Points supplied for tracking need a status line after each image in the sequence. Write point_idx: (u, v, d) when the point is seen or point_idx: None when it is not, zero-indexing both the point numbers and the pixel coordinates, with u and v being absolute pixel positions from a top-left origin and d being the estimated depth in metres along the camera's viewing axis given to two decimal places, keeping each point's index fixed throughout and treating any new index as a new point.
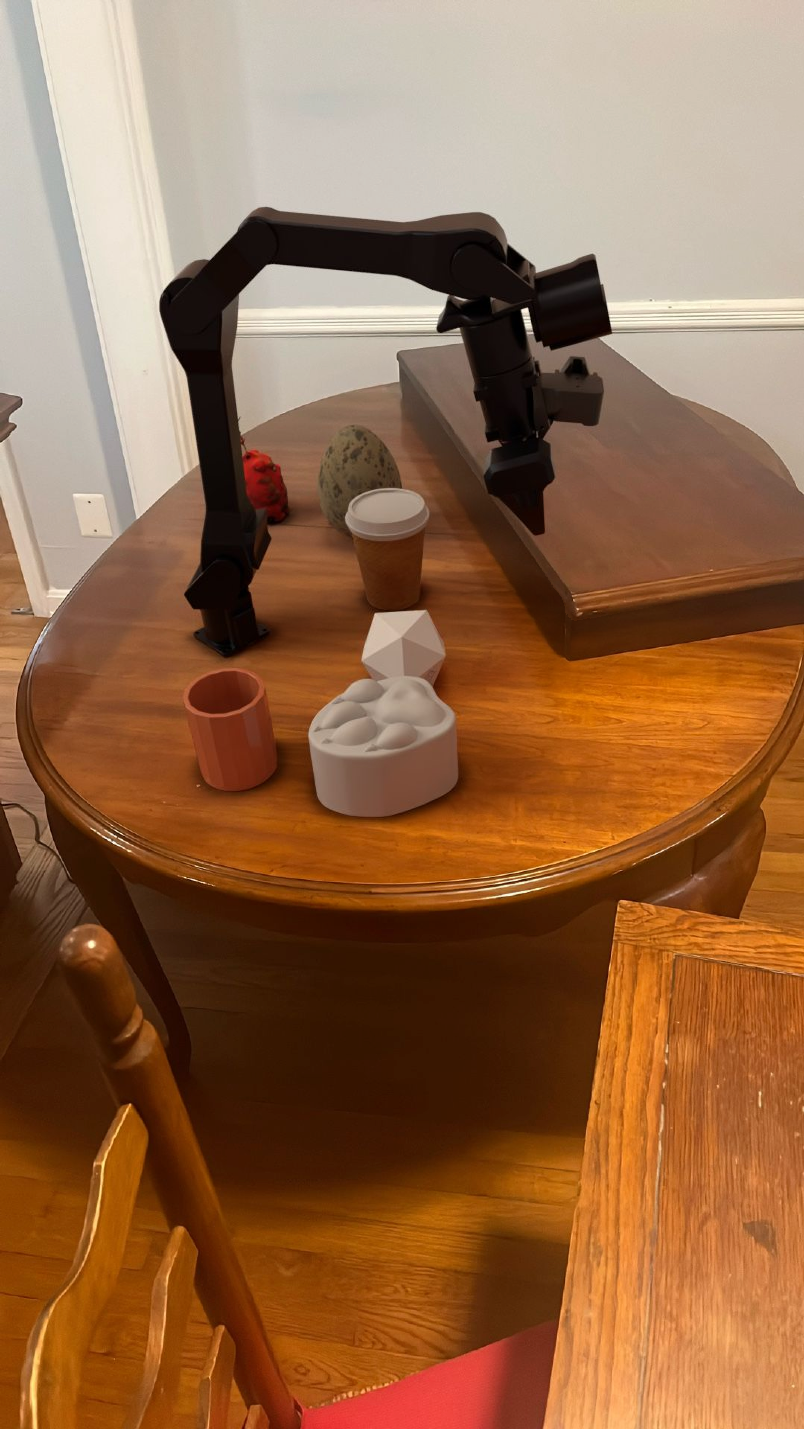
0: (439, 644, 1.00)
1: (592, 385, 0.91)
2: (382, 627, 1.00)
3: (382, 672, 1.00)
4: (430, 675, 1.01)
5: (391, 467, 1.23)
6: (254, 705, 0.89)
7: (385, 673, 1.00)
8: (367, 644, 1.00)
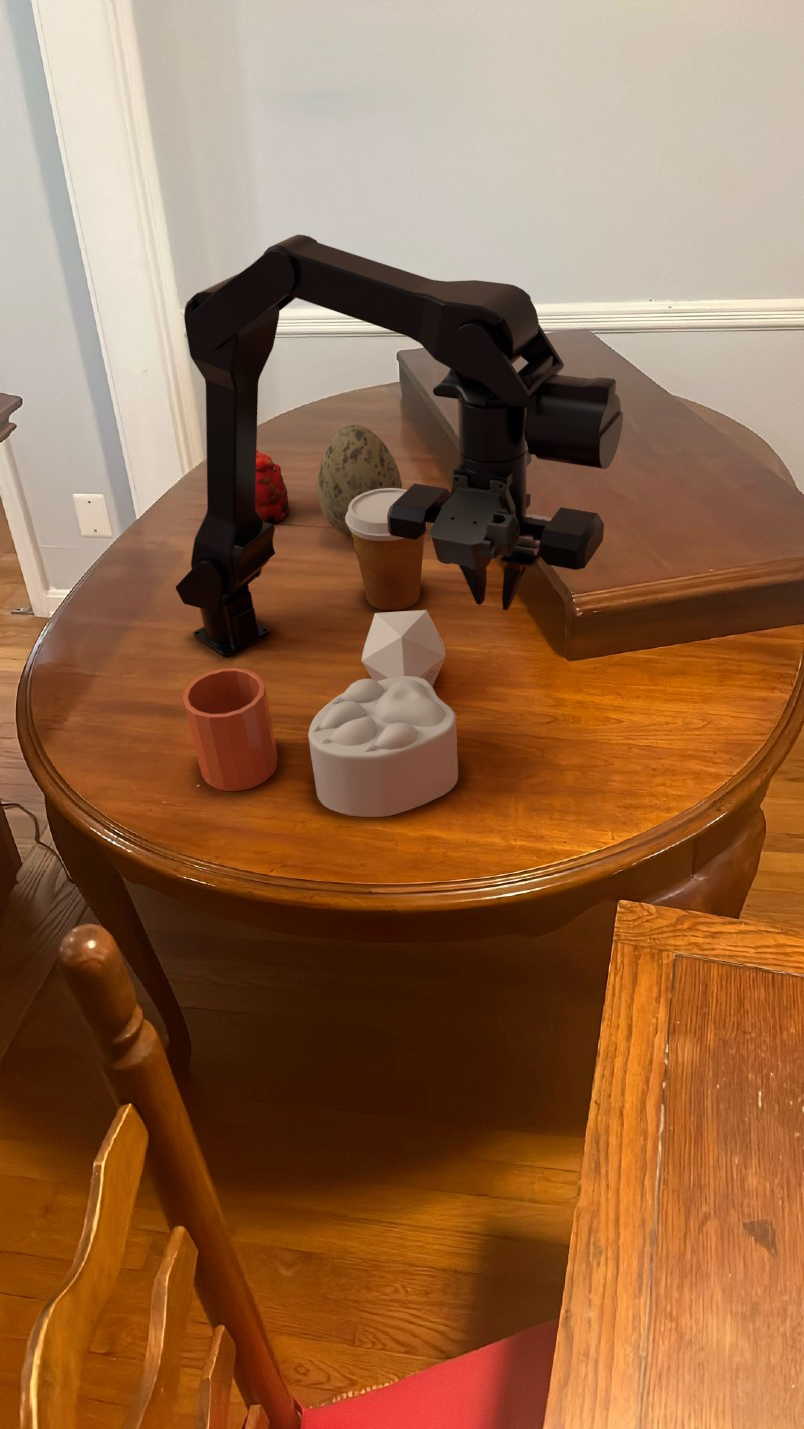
0: (439, 644, 1.00)
1: (453, 531, 0.82)
2: (382, 627, 1.00)
3: (382, 672, 1.00)
4: (430, 675, 1.01)
5: (391, 467, 1.23)
6: (254, 705, 0.89)
7: (385, 673, 1.00)
8: (367, 644, 1.00)
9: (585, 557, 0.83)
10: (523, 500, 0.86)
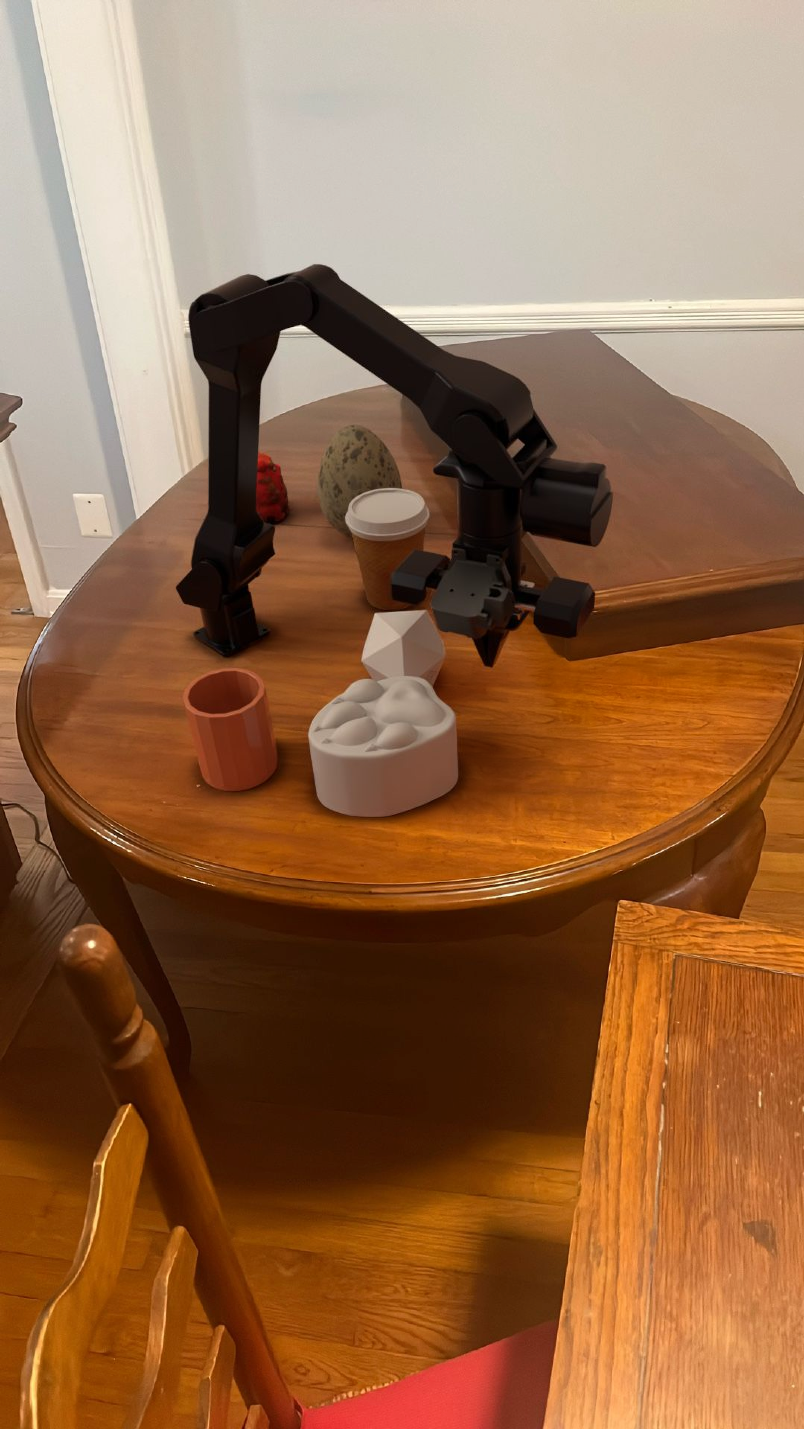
0: (439, 644, 1.00)
1: (451, 603, 0.86)
2: (382, 627, 1.00)
3: (382, 672, 1.00)
4: (430, 675, 1.01)
5: (391, 467, 1.23)
6: (254, 705, 0.89)
7: (385, 673, 1.00)
8: (367, 644, 1.00)
9: (577, 627, 0.88)
10: (518, 570, 0.90)
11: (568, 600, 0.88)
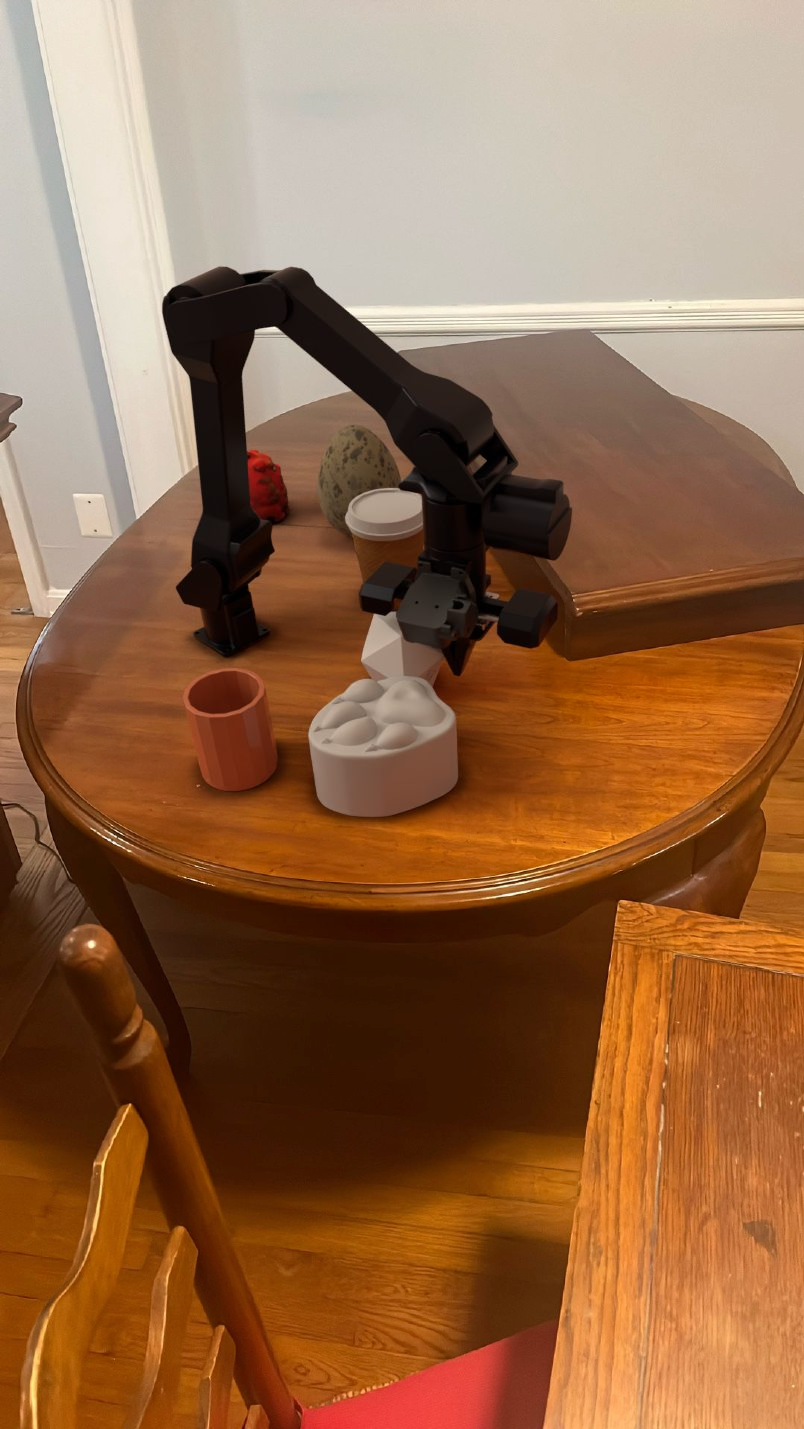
0: None
1: (416, 615, 0.89)
2: (381, 626, 1.00)
3: (382, 672, 1.00)
4: (430, 674, 1.01)
5: (391, 467, 1.23)
6: (254, 705, 0.89)
7: (384, 673, 1.00)
8: (366, 644, 1.00)
9: (539, 637, 0.91)
10: (483, 583, 0.93)
11: (530, 611, 0.91)
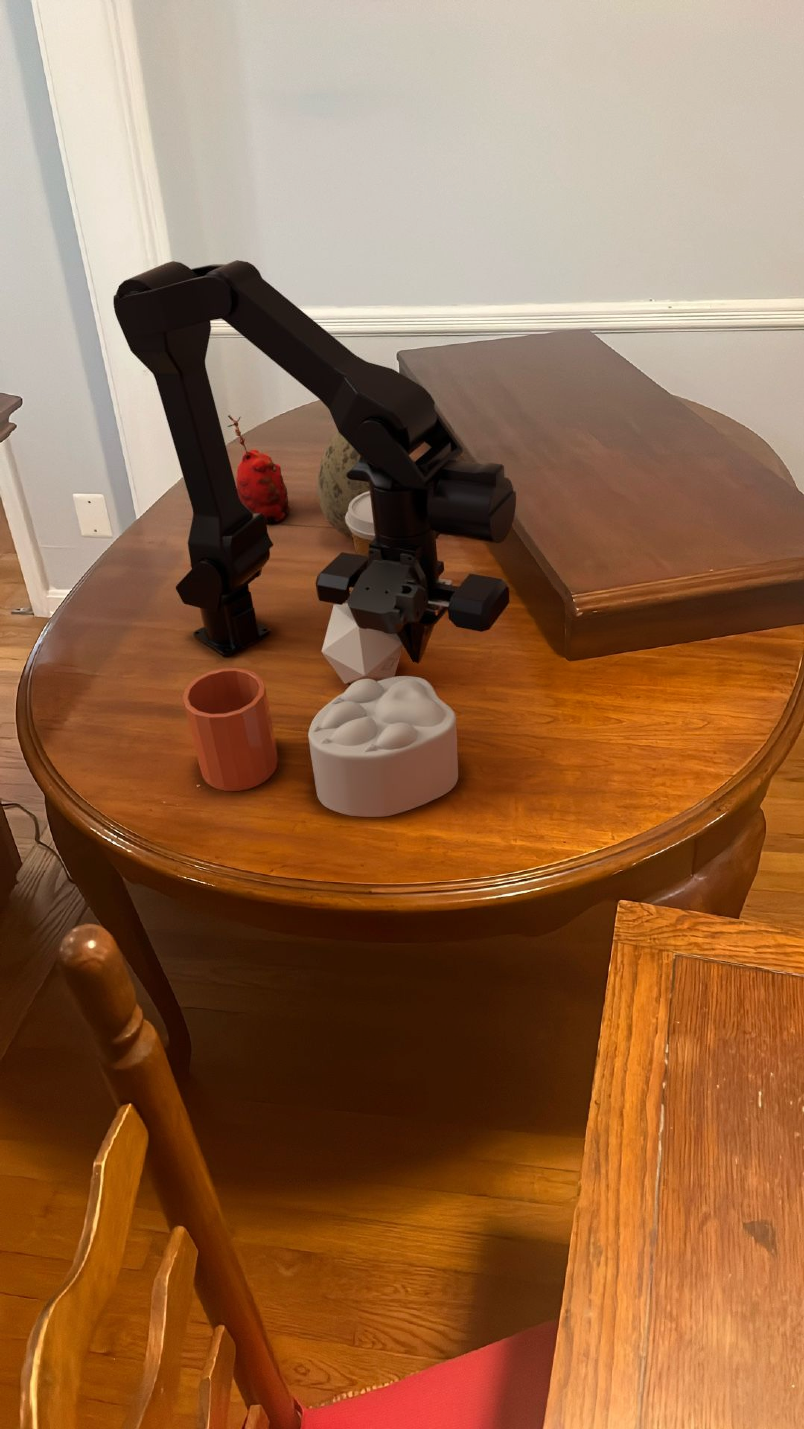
0: None
1: (366, 601, 0.90)
2: (340, 617, 1.02)
3: (342, 662, 1.01)
4: (390, 663, 1.03)
5: None
6: (254, 705, 0.89)
7: (344, 662, 1.01)
8: (327, 635, 1.02)
9: (489, 620, 0.92)
10: (434, 568, 0.94)
11: (480, 595, 0.92)
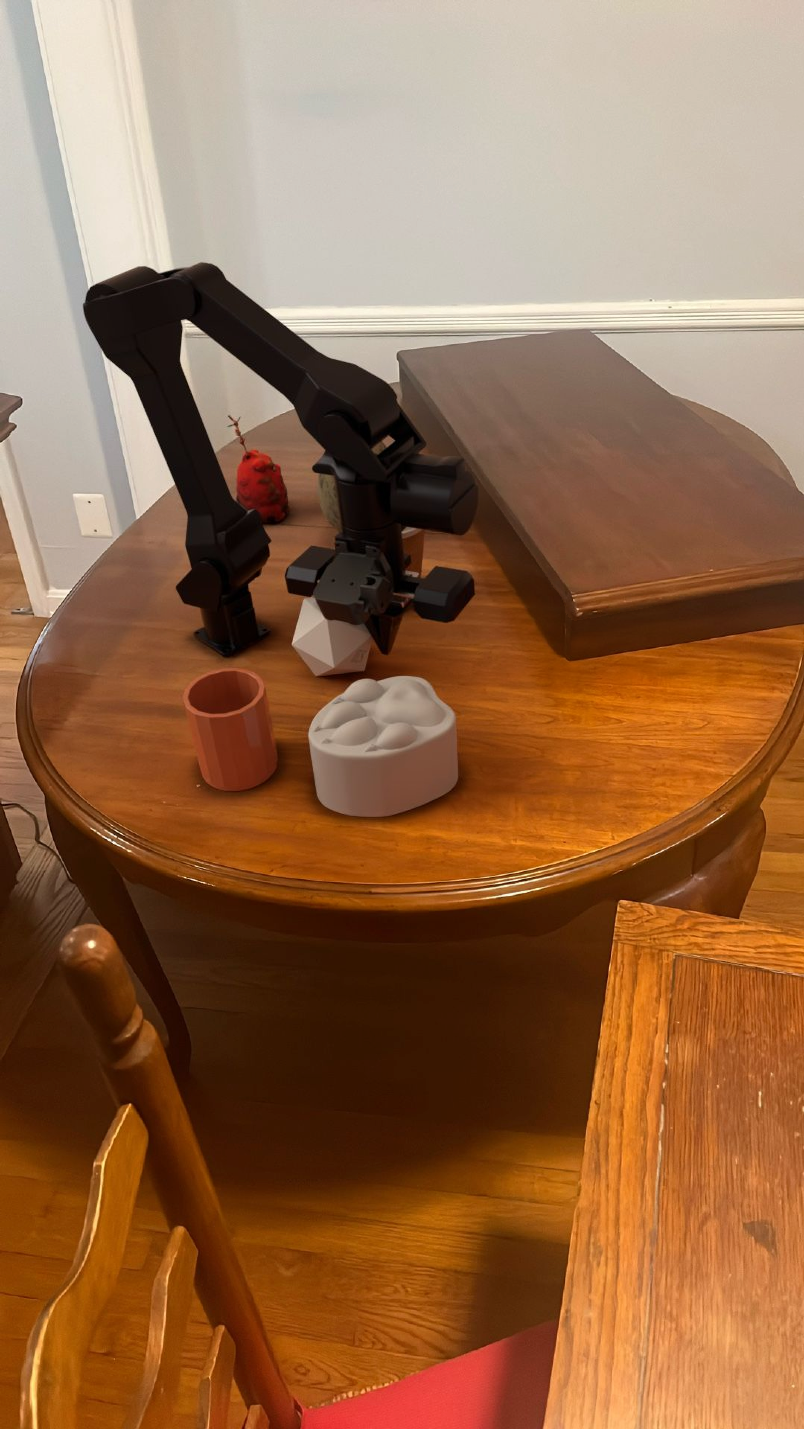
0: None
1: (332, 592, 0.92)
2: (310, 610, 1.03)
3: (312, 654, 1.03)
4: (360, 655, 1.04)
5: None
6: (254, 705, 0.89)
7: (314, 655, 1.03)
8: (297, 628, 1.04)
9: (453, 611, 0.93)
10: (400, 561, 0.96)
11: (444, 587, 0.94)
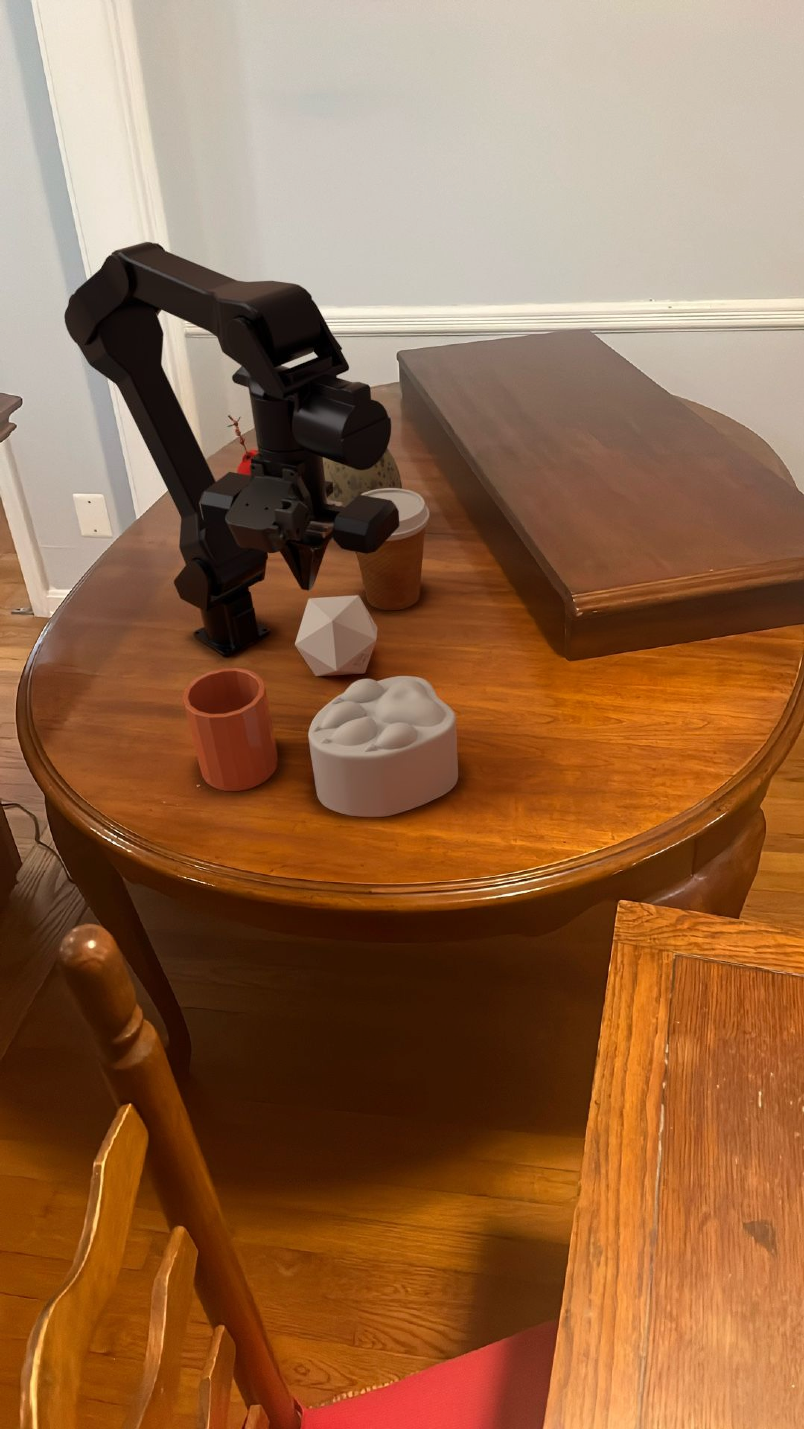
0: (370, 628, 1.03)
1: (245, 517, 0.86)
2: (314, 611, 1.03)
3: (315, 656, 1.03)
4: (362, 658, 1.04)
5: (391, 467, 1.23)
6: (254, 705, 0.89)
7: (317, 656, 1.03)
8: (300, 628, 1.03)
9: (375, 541, 0.88)
10: (320, 488, 0.90)
11: (366, 515, 0.88)
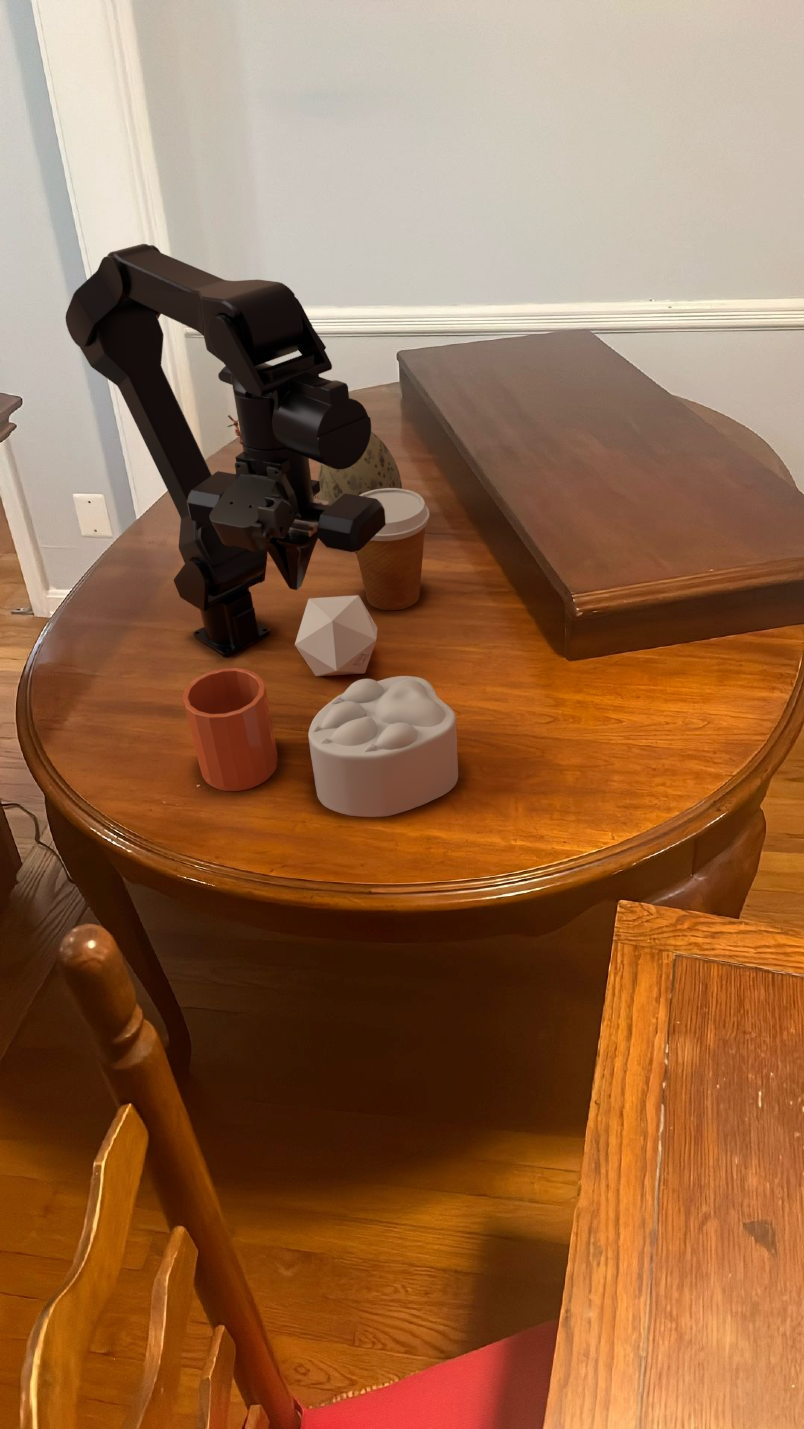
0: (370, 628, 1.03)
1: (229, 515, 0.86)
2: (314, 611, 1.03)
3: (315, 656, 1.03)
4: (362, 658, 1.04)
5: (391, 467, 1.23)
6: (254, 705, 0.89)
7: (317, 656, 1.03)
8: (300, 628, 1.03)
9: (359, 540, 0.88)
10: (306, 486, 0.90)
11: (351, 513, 0.88)
